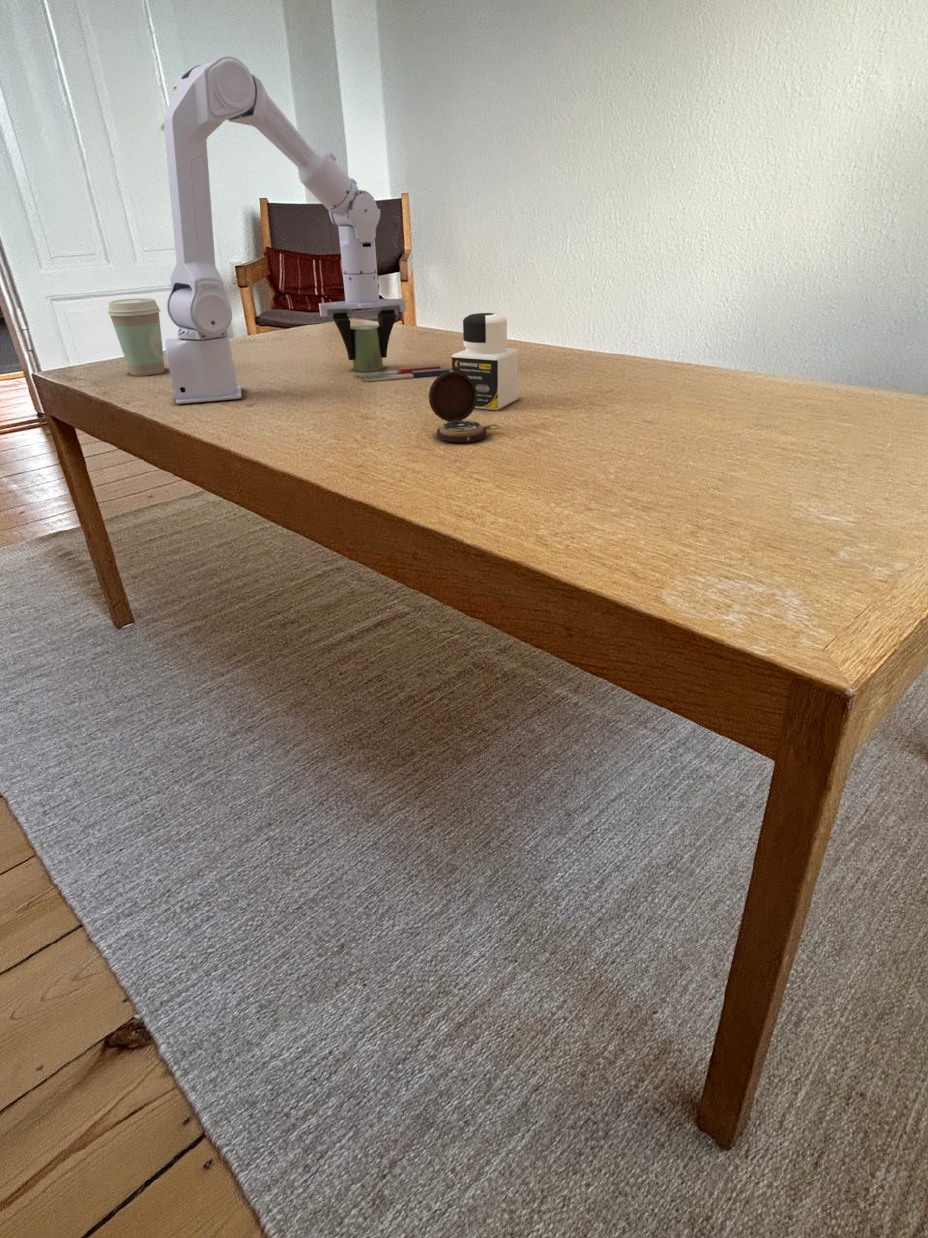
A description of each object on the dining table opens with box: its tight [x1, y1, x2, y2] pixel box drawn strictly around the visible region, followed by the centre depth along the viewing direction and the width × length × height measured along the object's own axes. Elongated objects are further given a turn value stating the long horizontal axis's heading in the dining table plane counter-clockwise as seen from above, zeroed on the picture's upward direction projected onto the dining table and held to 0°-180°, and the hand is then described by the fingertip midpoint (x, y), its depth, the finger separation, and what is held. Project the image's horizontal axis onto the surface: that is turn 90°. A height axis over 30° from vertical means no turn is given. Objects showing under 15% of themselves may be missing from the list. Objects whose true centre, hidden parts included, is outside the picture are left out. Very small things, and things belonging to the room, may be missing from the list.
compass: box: [428, 370, 501, 444], centre depth 92 cm, size 8×8×7 cm
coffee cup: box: [107, 297, 166, 377], centre depth 132 cm, size 8×8×12 cm
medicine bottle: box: [451, 312, 519, 411], centre depth 105 cm, size 7×7×12 cm
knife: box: [364, 367, 452, 383], centre depth 125 cm, size 15×2×1 cm, turn 105°
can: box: [350, 324, 384, 373], centre depth 131 cm, size 5×5×7 cm
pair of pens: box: [357, 364, 441, 379], centre depth 128 cm, size 14×2×1 cm, turn 105°
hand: (367, 357), depth 132 cm, fingers closed on can, 5 cm apart
